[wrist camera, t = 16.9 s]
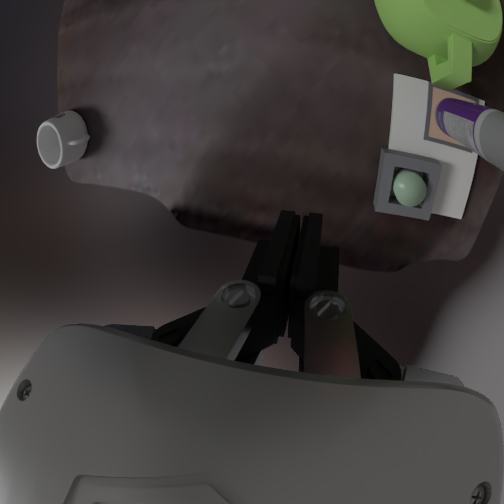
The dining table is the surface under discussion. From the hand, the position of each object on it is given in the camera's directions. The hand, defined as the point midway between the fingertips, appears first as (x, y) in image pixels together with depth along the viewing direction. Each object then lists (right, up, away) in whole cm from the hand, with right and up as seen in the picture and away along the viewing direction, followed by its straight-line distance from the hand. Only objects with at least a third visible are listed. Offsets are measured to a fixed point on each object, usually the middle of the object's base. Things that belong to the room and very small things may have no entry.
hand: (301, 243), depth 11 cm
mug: (-33, +20, +26) cm, 46 cm away
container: (+20, +15, +10) cm, 27 cm away
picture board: (+19, +12, +14) cm, 26 cm away
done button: (+16, +8, +16) cm, 24 cm away
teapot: (+17, +26, +4) cm, 31 cm away
